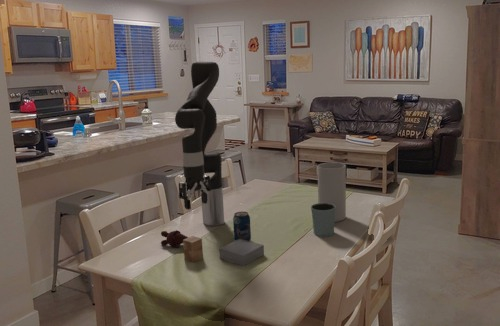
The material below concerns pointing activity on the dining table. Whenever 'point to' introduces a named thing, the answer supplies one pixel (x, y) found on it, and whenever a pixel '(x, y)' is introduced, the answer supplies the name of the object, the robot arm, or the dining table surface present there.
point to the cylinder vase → (333, 187)
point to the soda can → (242, 226)
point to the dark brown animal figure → (173, 238)
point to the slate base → (241, 251)
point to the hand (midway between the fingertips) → (196, 206)
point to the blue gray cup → (323, 219)
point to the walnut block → (193, 249)
